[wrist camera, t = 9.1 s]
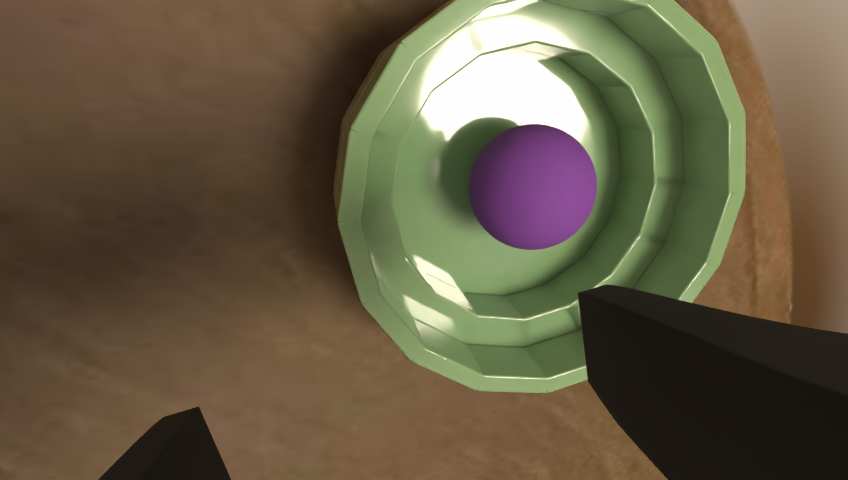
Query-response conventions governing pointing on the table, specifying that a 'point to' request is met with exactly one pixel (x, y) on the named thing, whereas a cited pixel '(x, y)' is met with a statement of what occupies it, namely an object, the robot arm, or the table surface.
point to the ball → (532, 186)
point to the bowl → (554, 106)
